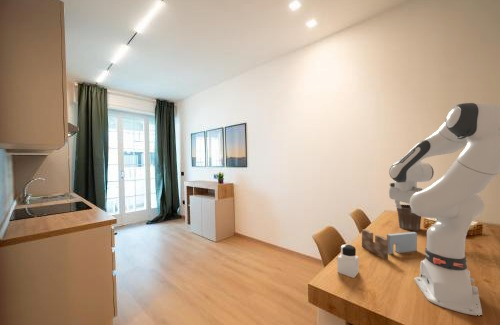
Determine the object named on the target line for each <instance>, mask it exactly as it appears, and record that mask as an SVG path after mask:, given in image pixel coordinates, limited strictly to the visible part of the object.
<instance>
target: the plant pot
mask: <svg viewBox="0 0 500 325" xmlns="http://www.w3.org/2000/svg"><path fill="white" fill-rule="evenodd" d="M400 205H401V209H398V208H397V205H396V204H395V207H396V211H397V216H398V217H397V218H398V219H397V220H398V227H399V228H400V229H402V228H403V230H407V231H410V230H411V232H416V231H420V230H421V223H422V222H421V221H422V217H421V216H418V215H416V214H415V213H411V207H410V204H400Z"/></svg>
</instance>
